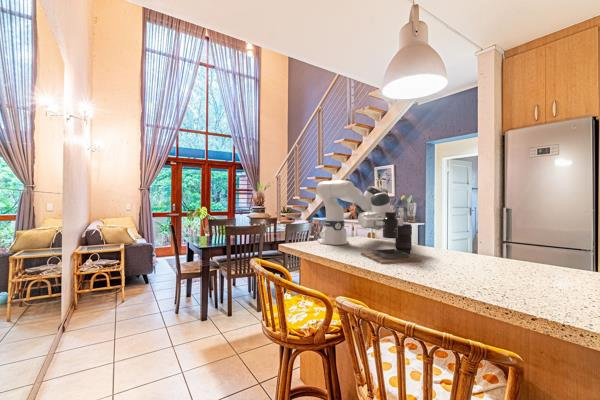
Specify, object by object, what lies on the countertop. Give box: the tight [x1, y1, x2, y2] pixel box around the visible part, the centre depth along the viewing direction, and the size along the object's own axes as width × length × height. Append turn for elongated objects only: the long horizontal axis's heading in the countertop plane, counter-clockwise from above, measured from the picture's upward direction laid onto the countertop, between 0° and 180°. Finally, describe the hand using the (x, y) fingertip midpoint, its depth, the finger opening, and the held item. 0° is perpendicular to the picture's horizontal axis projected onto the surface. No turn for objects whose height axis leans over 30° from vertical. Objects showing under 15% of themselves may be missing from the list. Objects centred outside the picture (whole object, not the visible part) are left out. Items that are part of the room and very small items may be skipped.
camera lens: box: [394, 222, 413, 255], centre depth 146 cm, size 8×8×15 cm
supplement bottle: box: [382, 211, 398, 239], centre depth 132 cm, size 7×7×12 cm
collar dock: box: [360, 248, 423, 265], centre depth 133 cm, size 20×20×3 cm
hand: (391, 223), depth 132 cm, fingers closed on supplement bottle, 7 cm apart
